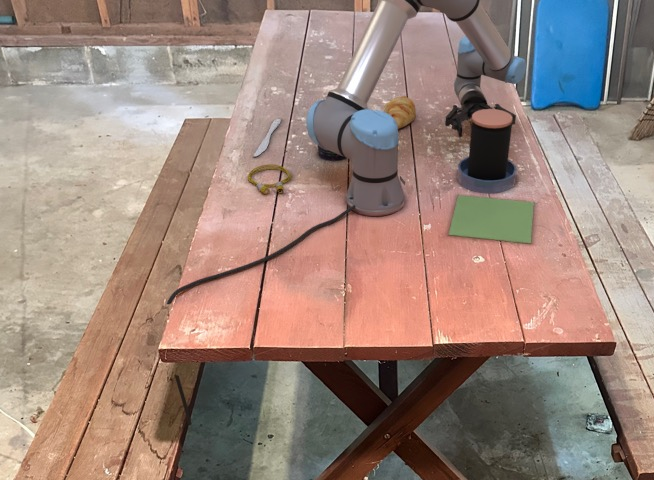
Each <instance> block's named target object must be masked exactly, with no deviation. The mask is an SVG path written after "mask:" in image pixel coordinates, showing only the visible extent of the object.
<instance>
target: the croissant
mask: <svg viewBox="0 0 654 480" xmlns="http://www.w3.org/2000/svg"><path fill="white" fill-rule="evenodd" d="M383 112H385V113H387V114H389V115H391V116H392V117H393V118H394V119H395V121H396V123H397V126H398V130H399V129H402V128H404V127H406V126H407V125H409V124H411V123H412V122H414V121H415V119H416V105H415V102H414V101H413V99H411V98H409V97H407V96H398V97H395V98H392V99H390V100H389V101H388V102H387V103H386V105H385V106H384V108H383Z"/></svg>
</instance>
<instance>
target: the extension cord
mask: <svg viewBox="0 0 654 480" xmlns="http://www.w3.org/2000/svg"><path fill="white" fill-rule="evenodd" d="M267 170H277V171H282V172H284V173H286V175H287V177H285V178H284V179H282V180H280V181H277V182H276V183H275V182H274V183H270V184H269V183H260V182H257V181H254V179H253V178H252V176H253V175H254V174H256V173H259V172H262V171H267ZM291 179H292V178H291V173H289V171H288V170H287V168H285V167H283V166H281V165H279V164H273V163H269V164H268V163H267V164H262V165H258V166H257V167H255V168H253V169H252V170H251V171H249V173H248V175H247V180H248V181H249V182H250V183H252V184H253V185H255V186H256V187H257V189H258V190H259V191H260V192H261V193H262V194H264V195H268V194H270V192H271V190H270V189H269V188H275V187H276V191H277V193H278V194H283V193H284V184H285V183H288V182H289V181H291Z"/></svg>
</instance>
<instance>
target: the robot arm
mask: <svg viewBox="0 0 654 480" xmlns="http://www.w3.org/2000/svg"><path fill="white" fill-rule="evenodd" d="M421 7H426V8H430V9H434V10H436V11H439V12H441V13H443V14H444V15H445V16H446V18H447V19H448V20H449V21H451V22H453V23H456V25H457V27H459V28H460V30H461V31H462V33H463V34H464V35H465V36H464V37H461V38H460V40H459V42H458V51H457V64H456V65H457V66H456V77H455V78H454V82H453V90H454V93H455V95H456V97H457V99H458V102H459V106H460V107H459V106H458V105H457V104H453V105H452V109H451V110H450V111H449V112H448V113H447V115H446V116H445V120H444V123H445V124H444V126H445V127H449V126H451V129H452V130H454V131H456V132H457V134H458V137H459V138H462V137H463V131H464V130H463V125H462V123H464V122H465V121H469V120H470V119H471V120H472V115H473V114H474V112H476V111H479V110H483V109H497V110H502V111H505V112H507V113H509V114H511V116H512V123H511V129H512V128H513V125H515V124H516V121H517V120H516V119H517V114H515V113H513V112H511V111H509V110H507V109H506V108H504V107H502V106H501V105H500V104H499V103H494V106H490V105H489V104H488V101H487V99H486V97H485V94H484V92H483V90H482V88H481V81H482V76H484V77H487V78H491V79H494V80H497V81H500V82H503V83H505V84H512V85H517V84H519V83H520V82H522V80H523V78H524V76H525V75H526V72H527V63H526V62H527V61H526V60H525V59H524V58H523V57H520V56H518V55H514V54H513V53H512V52H511V50H510V48H509V47H508V45H507V44H506V42H505V40H504V39H503V37H502V35H501V34H500V33H499V31H498V29H497V28H496V26H495V24H494V23H493V21H492V20H491V18H490V17H489V15H488V14H487V11H486V10H485V9H484V7H483V5H482V3H481V0H377V5H376V6H375V8H374V10H373V12H372V15H371V17H370V19H369V21H368V23H367V25H366V27H365V29H364V31H363V33H362V36H361V38H360V40H359V42H358V44H357V46H356V48H355V50H354V52H353V54H352V56H351V58H350V60H349V62H348V65H347V67H346V69H345V71H344V73H343V75H342V77H341V79H340V82H339V83H338V85H337V87H336V88H333V89H331V90H329V91H328V93H327V94H326V96H325V98H324V99H319V100H317V102H313V104H312V105H311V106H310V108H309V110H308V112H307V116H306V121H305V123H306V125H305V126H306V130H307V135H308V137H309V139H310V140H311V142H312V143H313V144H314V145H316V146H317V145H319V146H320V147H321V148H323V149H325V150H329V151H332V152H334V153H336V154H339V155H341V156H343V157H345V158H347V159H348V160H350V161H351V168H352V176H351V179H350V183H349V186H348V189H347V192H346V198H345V199H346V205H347V207H348V208H347V209H345V210H344V211H342V212H341V213H340V214H338V215H337V216H335V217H334V218H332V219H329V220H327V221H323V222H321V223H319V224H316V225H314V226H312V227H310V228H308V229H307V230H306V231H305V232H303V233H302V234H301V235H300V236H298V237H297V238H296V239H294V240H292V242H290V243H288V244H287V245H285V246H284V247H282V248H280V249H278V250H276V251H274V252H273V253H270V254H269V255H267V256H264V257H262V258H260V259H257V260H255V261H252V262H249V263H246V264H244V265H241V266H238V267H235V268H232V269H229V270H226V271H223V272H219V273H217V274H213V275H209V276H206V277H203V278H200V279H197V280H194V281H192V282H190V283H188V284H186V285H183V286H180V287H178V288H177V289H176V290H174V291H173V292H172V294H171V295H169V298H168V300H167V302H166V305H171V304H172V303H173V301H174V299H175V298H176V297H177V296H178V295H179V294H180V293H182V292H184V291H186V290H188V289H191V288H193V287H194V286H197V285H199V284H203V283H206V282H208V281H212V280H216V279H219V278H222V277H225V276H228V275H231V274H234V273H239V272H241V271H244V270H247V269H250V268H252V267H255V266H257V265H260V264H262V263H264V262H267V261H268V260H270V259H273V258H275V257H276V256H279V255H281V254H282V253H284V252H286V251H287V250H289V249H290V248H292V247H294V246H295V245H298V243H299V242H301V241H302V240H303V239H305V238H306V237H307V236H308V235H309V234H311V233H312V232H314V231H316V230H318V229H320V228H322V227H323V228H324V227H325V226H328V225H331V224H332V223H335V222H337V221H339V220H340V219H342V218H343V217H344V216H346V215H348V214H349V213H350V212H354V213H356V214H358V215H362V216H367V217H383V216H389V215H392V214H394V213H396V212H398V211H400V210H401V209H402V208H403V207H404V205H405V192H404V190H403V187H402V184H403V185H404V186H406V181H405V180H404V179H403V177H402V176H401V175H398V172H399V169H398V168H399V140H400V138H399V137H400V136H399V129H398V126H397V123H396V121H395V119H394V118H393V117H392V116H391V115H389V114H387V113H385V112H384V110H379V109H375V110H373V109H371V108H368V102H369V100H370V98H371V96H372V94H373V92H374V90H375V88H376V86H377V84H378V82H379V79H380V77H381V75H382V73H383V72H384V69H385V67H386V65H387V63H388V61H389V59H390V57H391V55H392V53H393V51H394V49H395V46H396V45H397V42H398V41H399V38H400V36H401V34H402V32H403V30H404V28H405V26H406V24H407V22H408V21H409V20H411V19H413V18H416V17H417V16H418V13H419V11H420V9H421ZM401 183H402V184H401ZM174 379H175V382H176V385H177V389H178V392H179V395H180V399H181V402H182V406H183V409H184V413H185V417H186V422H187V426H191V425H192V420H191V415H190V410H189V408H188V403H187V400H186V397H185V393H184V390H183V386H182V383H181V379H180V376H179V375H177V374H174Z"/></svg>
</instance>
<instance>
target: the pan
mask: <svg viewBox="0 0 654 480" xmlns="http://www.w3.org/2000/svg"><path fill="white" fill-rule="evenodd" d="M468 163H469V156H467V157H464V158H463V159H461V160H460V162H458V165H457V182H458V183H459V184H460V186H462V187H463V188H465V189H467V190H469V191H472V192H476V193H480V194H497V193H503V192H506V191H508V190H510V189H512V188H513V187H514V185H515V184H516V182H517V173H518V168H517V165H516V164H515V163H514V162H513V161H512V160H509V159H508V163H507V172H506V177H505V178H504V179H501V180H480V179H475V178H472V177H470V176H468Z"/></svg>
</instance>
